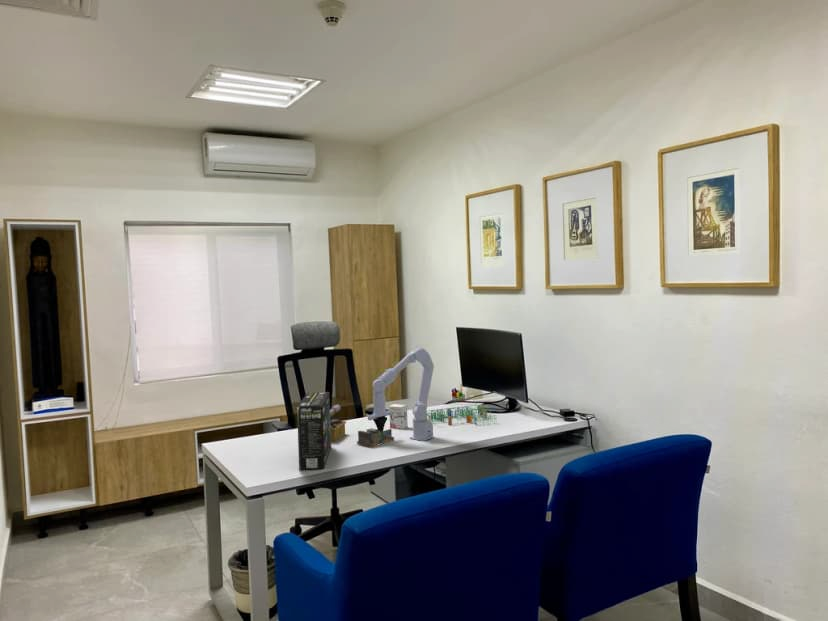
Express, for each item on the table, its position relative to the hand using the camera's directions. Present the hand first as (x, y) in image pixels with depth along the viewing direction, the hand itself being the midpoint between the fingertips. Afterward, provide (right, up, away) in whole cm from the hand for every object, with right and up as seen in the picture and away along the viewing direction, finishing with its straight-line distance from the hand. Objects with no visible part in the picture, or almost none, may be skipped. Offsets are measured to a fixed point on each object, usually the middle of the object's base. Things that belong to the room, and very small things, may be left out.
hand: (380, 432), depth 297 cm
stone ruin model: (-2, -4, -2) cm, 5 cm away
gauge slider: (-3, -2, -5) cm, 6 cm away
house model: (+42, -2, +37) cm, 56 cm away
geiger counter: (-25, -5, +6) cm, 26 cm away
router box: (-27, -7, -26) cm, 38 cm away
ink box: (+8, -3, +26) cm, 27 cm away
